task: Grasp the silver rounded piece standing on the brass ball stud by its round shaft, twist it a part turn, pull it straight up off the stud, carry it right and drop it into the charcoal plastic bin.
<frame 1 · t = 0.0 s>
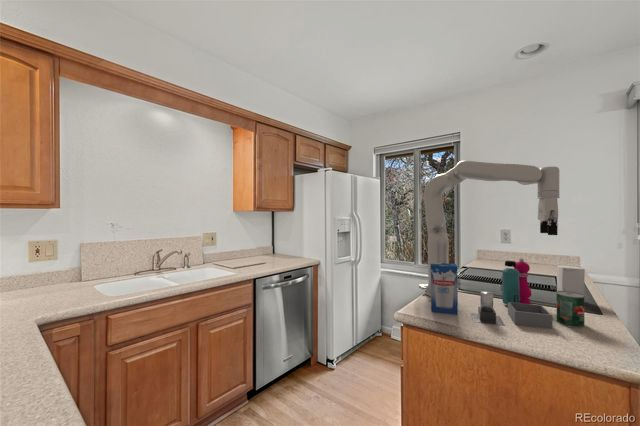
hand: (548, 234, 126), 31 cm above the worktop, tool pointing down, fingers open, 9 cm apart
beverage bottle: (510, 307, 124), on the worktop
bin: (528, 323, 106), on the worktop
canned tomato: (570, 323, 106), on the worktop
stud plate: (486, 321, 109), on the worktop
silver rounded piece: (486, 318, 109), point 1 cm above the worktop, touching stud plate
skincare box: (570, 301, 131), on the worktop
milk carton: (443, 313, 118), on the worktop
pepper mill: (521, 302, 130), on the worktop
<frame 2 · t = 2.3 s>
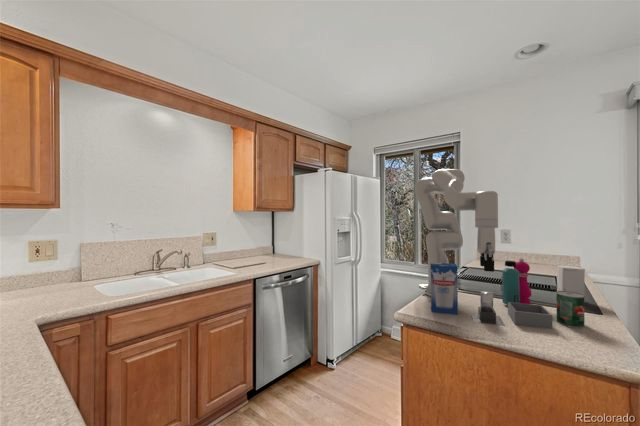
hand: (486, 268, 109), 20 cm above the worktop, tool pointing down, fingers open, 9 cm apart
nothing on the worktop moved.
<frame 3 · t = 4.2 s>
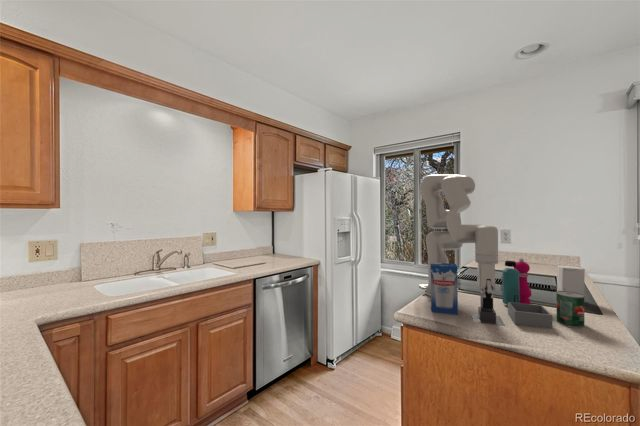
hand: (486, 305, 109), 6 cm above the worktop, tool pointing down, fingers closed on silver rounded piece, 4 cm apart
silver rounded piece: (486, 318, 109), point 1 cm above the worktop, touching gripper, stud plate
everything else where it was.
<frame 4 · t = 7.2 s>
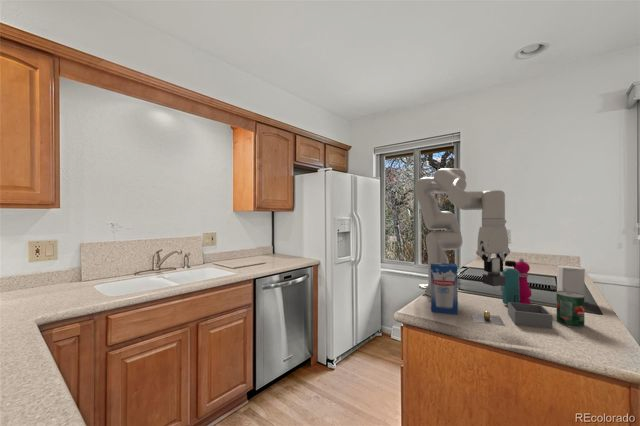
hand: (493, 270, 108), 19 cm above the worktop, tool pointing down, fingers closed on silver rounded piece, 4 cm apart
silver rounded piece: (493, 284, 108), point 14 cm above the worktop, touching gripper
everything else where it was.
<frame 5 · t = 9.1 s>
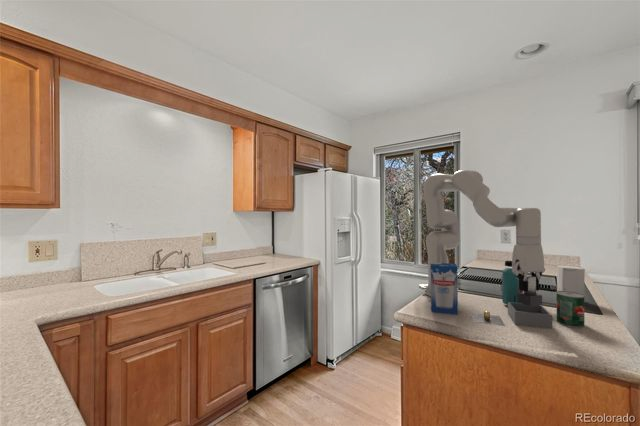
hand: (528, 289, 106), 13 cm above the worktop, tool pointing down, fingers closed on silver rounded piece, 4 cm apart
silver rounded piece: (529, 303, 106), point 8 cm above the worktop, touching gripper
everything else where it was.
when the fingers open (7 cm above the worktop, at t = 10.4 s): silver rounded piece drops 2 cm, resting on bin.
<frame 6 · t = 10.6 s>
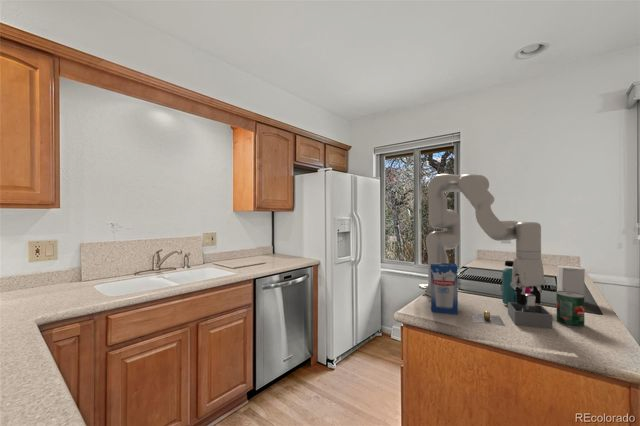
hand: (528, 303, 106), 8 cm above the worktop, tool pointing down, fingers open, 6 cm apart
silver rounded piece: (528, 321, 106), point 1 cm above the worktop, touching bin
everything else where it was.
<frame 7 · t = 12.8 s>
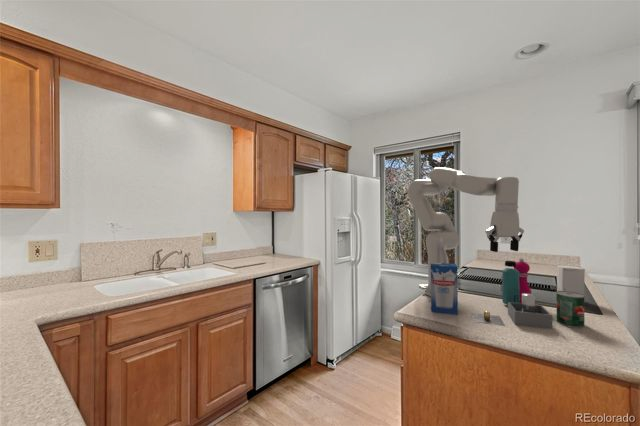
hand: (504, 250, 115), 26 cm above the worktop, tool pointing down, fingers open, 9 cm apart
nothing on the worktop moved.
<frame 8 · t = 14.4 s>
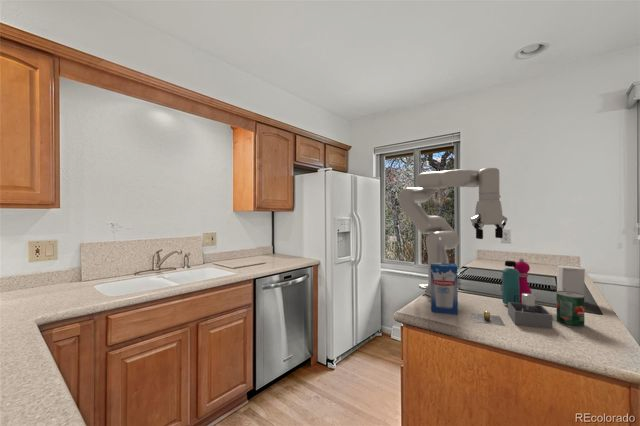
hand: (489, 238, 120), 30 cm above the worktop, tool pointing down, fingers open, 9 cm apart
nothing on the worktop moved.
at the end: silver rounded piece inside the target area on the bin (0.1 cm from its centre), point 0.6 cm above the bin's base; silver rounded piece moved 14.3 cm from its start; the gripper is holding nothing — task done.
